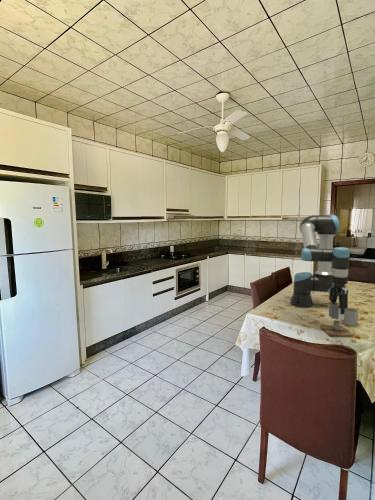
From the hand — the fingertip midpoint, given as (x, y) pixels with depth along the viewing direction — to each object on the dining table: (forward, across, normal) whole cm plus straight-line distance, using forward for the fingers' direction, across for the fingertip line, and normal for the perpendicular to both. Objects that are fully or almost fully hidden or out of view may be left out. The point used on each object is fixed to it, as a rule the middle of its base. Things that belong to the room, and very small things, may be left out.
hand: (336, 316), depth 143 cm
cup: (+9, -11, +12) cm, 19 cm away
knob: (0, 0, 0) cm, 0 cm away
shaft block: (+9, 0, 0) cm, 9 cm away
